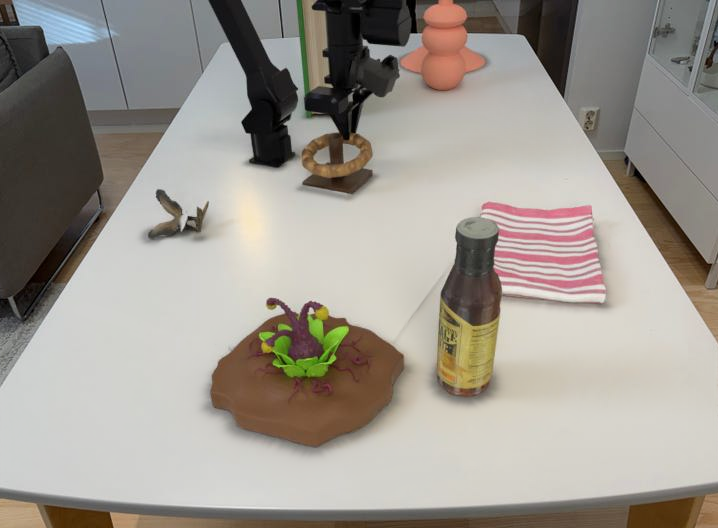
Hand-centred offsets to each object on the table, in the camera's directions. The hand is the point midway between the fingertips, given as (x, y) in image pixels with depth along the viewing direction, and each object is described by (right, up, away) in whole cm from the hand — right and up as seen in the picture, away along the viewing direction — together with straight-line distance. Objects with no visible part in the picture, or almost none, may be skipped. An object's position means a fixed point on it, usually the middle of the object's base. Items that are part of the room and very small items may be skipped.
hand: (349, 137), depth 119 cm
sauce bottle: (+14, -41, -41) cm, 60 cm away
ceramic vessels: (+21, +32, +48) cm, 61 cm away
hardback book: (-4, +18, +32) cm, 37 cm away
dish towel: (+27, -24, -21) cm, 42 cm away
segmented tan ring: (-2, -4, -3) cm, 5 cm away
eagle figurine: (-26, -19, -12) cm, 35 cm away
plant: (-3, -41, -40) cm, 58 cm away
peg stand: (-2, -8, 0) cm, 8 cm away
